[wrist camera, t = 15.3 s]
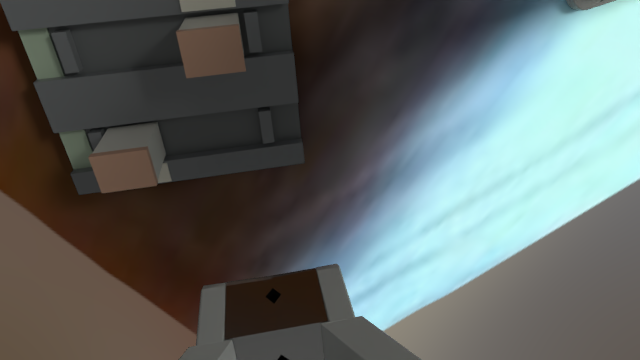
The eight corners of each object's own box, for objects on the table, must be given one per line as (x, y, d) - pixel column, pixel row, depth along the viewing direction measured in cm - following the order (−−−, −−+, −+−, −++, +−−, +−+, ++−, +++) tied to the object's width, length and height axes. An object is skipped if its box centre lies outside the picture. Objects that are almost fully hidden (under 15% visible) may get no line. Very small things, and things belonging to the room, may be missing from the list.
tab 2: (238, 11, 34) (238, 25, 29) (244, 52, 36) (246, 71, 31) (184, 17, 34) (175, 31, 29) (193, 57, 35) (186, 78, 31)
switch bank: (282, -30, 35) (286, -27, 33) (301, 151, 43) (304, 164, 41) (14, -5, 33) (-2, 0, 31) (87, 180, 41) (78, 195, 39)
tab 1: (157, 121, 37) (146, 149, 33) (166, 153, 39) (157, 185, 34) (107, 127, 37) (88, 157, 32) (118, 160, 39) (101, 193, 34)
